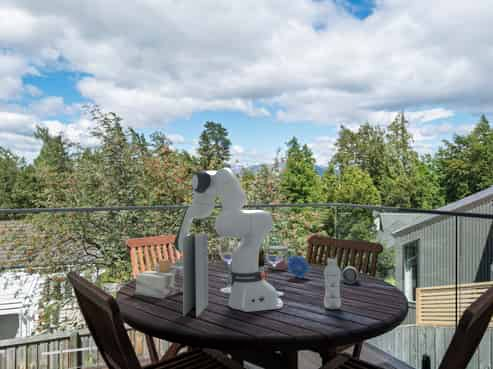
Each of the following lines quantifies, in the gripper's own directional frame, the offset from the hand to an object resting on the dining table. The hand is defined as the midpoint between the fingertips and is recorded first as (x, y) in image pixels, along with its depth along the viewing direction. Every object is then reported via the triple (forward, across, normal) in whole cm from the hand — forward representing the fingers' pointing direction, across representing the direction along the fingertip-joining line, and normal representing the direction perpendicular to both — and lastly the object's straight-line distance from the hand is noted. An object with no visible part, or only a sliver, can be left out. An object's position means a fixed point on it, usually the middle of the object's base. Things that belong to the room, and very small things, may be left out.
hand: (163, 272), depth 190 cm
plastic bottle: (-12, +78, +9) cm, 79 cm away
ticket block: (-1, 0, +8) cm, 9 cm away
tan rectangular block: (-1, 0, +7) cm, 7 cm away
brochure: (+16, +31, +9) cm, 36 cm away
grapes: (-52, +46, +9) cm, 70 cm away
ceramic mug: (-57, +71, +9) cm, 91 cm away
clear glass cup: (-71, +25, +9) cm, 76 cm away
